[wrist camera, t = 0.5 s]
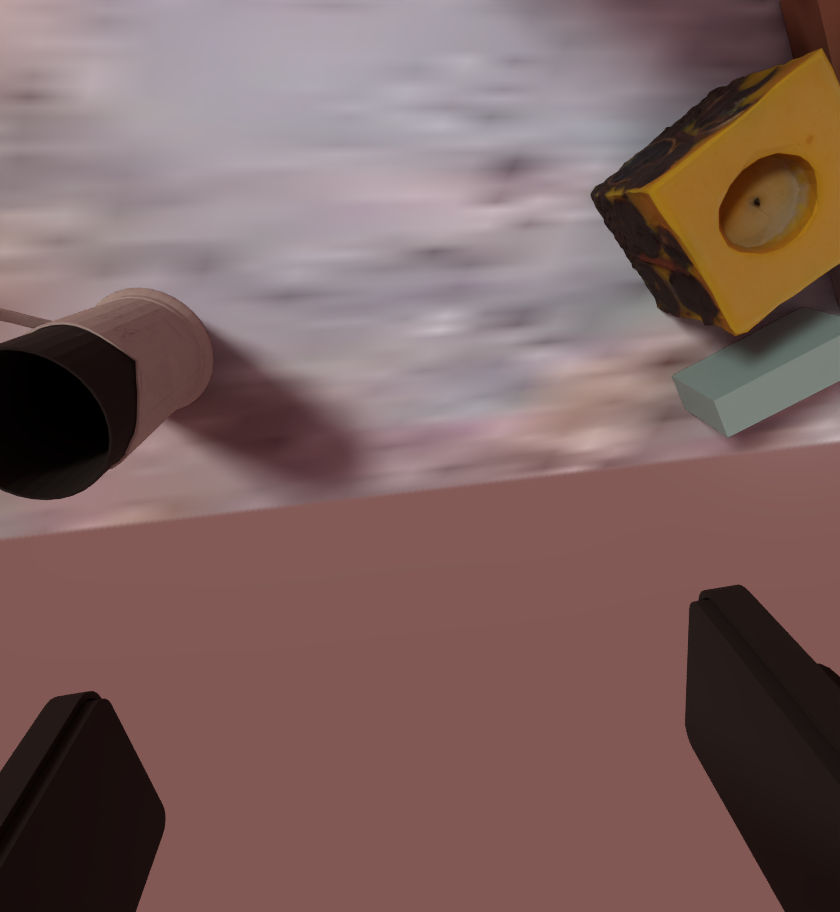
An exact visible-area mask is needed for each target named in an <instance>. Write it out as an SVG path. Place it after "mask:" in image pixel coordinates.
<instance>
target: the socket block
mask: <svg viewBox="0 0 840 912" xmlns="http://www.w3.org/2000/svg"><path fill="white" fill-rule="evenodd" d="M779 2H780V6H781V10H782V14H783V18H784V22H785V26H786V30H787V34H788V38H789V42H790V46H791V50H792V54H793V58H794V59H797V58H800V57H802V56H804V55H806V54H808V53H810V52H813V51H815V50H818V49H821V48H822V49H823V51H824V53H825V55H826V57H827V58H828V60H829V62H830V64H831V66H832V68H833V70H834V73H835V75H836V77H837V80H838V82H839V85H840V0H780V1H779Z"/></svg>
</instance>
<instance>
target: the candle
mask: <svg viewBox="0 0 840 912" xmlns="http://www.w3.org/2000/svg"><path fill="white" fill-rule="evenodd" d="M591 198H592V200H593V202H594V204H595V206H596V208H597V210H598V212H599V213H600V214H601V215H602V216H603V218H604V223H605V225H606V226H607V227H608V229H609V230H610V231H611V232H613V233H614V236H615V239H616V240H617V241H618V243H619V245H620V247H621V248H623V250H624V252H625V254H626V257H627V258H628V259H629V260H630V262H631V263H632V267H633V268H636V270H637V271H638V273H639V275H640V276H641V277H642V279H643V280H644V282H645V285H646V286H647V287H648V289H649V290H650V292H651V293H652V295H653V296H654V298H655V300H656V304H657V307H658V308H659V309H661V310H662V311H664V312H666V313H669V312H670V313H671V314H672V315H674V316H676V317H678V316H679V317H684V318H692V319H697V320H701V321H703V323H704V325H716V326H720V327H721V328H723V329H724V330H726V331H727V332H729V333H731V334H733V335H734V336H738V335H740V334H743V333H746V332H748V331H749V330H750V329H752V328H753V327H754V326H755V325H756V324H758V323H759V322H760V321H761V320H762V319H763V318H765V317H766V316H767V315H768V314H769V313H770V312H772V311H773V310H774V309H775V308H776V307H777V306H778V305H780V304H781V303H783V302H785V301H786V300H788V299H790V298H791V297H793V296H794V295H796V294H797V293H799V292H800V291H801V290H803V289H804V288H805V287H807V286H808V285H809V284H811V283H812V282H813V281H815V280H816V279H818V278H819V277H821V276H822V275H823V274H825V273H826V272H828V271H829V270H831V269H832V268H833V267H835V266H836V265H838V264H840V85H839V82H838V80H837V77H836V75H835V73H834V70H833V68H832V66H831V64H830V62H829V60H828V58H827V57H826V55H825V53H824V51H823V49H822V48H821V49H818V50H815V51H813V52H810V53H808V54H806V55H804V56H802V57H800V58H797V59H793V60H791V61H789V62H788V63H786V64H785V65H777V66H774V67H772V68H770V69H767V70H764V71H760V72H757V73H752V74H749V75H747V76H745V77H741V78H737V79H735V80H734V81H732V82H731V83H730V84H729V85H727V86H724V87H718V88H716V89H714V90H713V91H711V92H709V94H708V96H707V97H706V98H705V99H703V100H702V101H701V102H700V103H699V104H698V105H696V106H694V107H693V108H691V109H690V110H689V111H688V112H687V114H686V115H684V116H683V117H682V118H681V119H680V120H678V121H677V122H675V123H674V124H673V125H672V126H671V127H667V128H666V129H665V130H664V131H663V132H662V133H661V134H660V135H659V136H658V137H656V138H655V139H654V140H653V141H652V142H651V143H650V144H649V145H648V146H647V147H645V148H644V149H643V150H641V151H640V152H639V153H637V154H636V155H634V156H633V157H632V158H631V159H630V160H628V161H627V162H625V163H624V164H623V166H622V167H621V168H620V170H619V171H618V172H616V173H615V174H613V175H612V176H610V177H609V178H607V179H606V180H605V182H604V183H602V184H599V185H597V186H595V188H594V189H593V191H592V193H591Z"/></svg>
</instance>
